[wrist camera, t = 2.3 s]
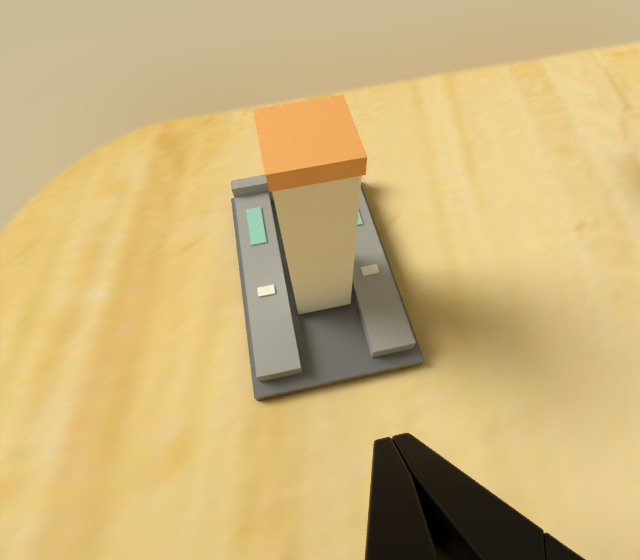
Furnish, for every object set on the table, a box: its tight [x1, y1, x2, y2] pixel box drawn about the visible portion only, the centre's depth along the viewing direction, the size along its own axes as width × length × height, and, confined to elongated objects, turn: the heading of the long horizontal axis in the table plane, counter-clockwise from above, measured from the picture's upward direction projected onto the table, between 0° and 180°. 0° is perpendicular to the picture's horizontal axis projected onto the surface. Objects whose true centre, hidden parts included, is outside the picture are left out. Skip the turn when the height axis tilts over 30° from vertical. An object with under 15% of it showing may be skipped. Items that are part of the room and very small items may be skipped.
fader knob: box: [253, 95, 367, 315], centre depth 18 cm, size 3×3×11 cm
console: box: [231, 175, 424, 400], centre depth 23 cm, size 15×10×2 cm, turn 12°
